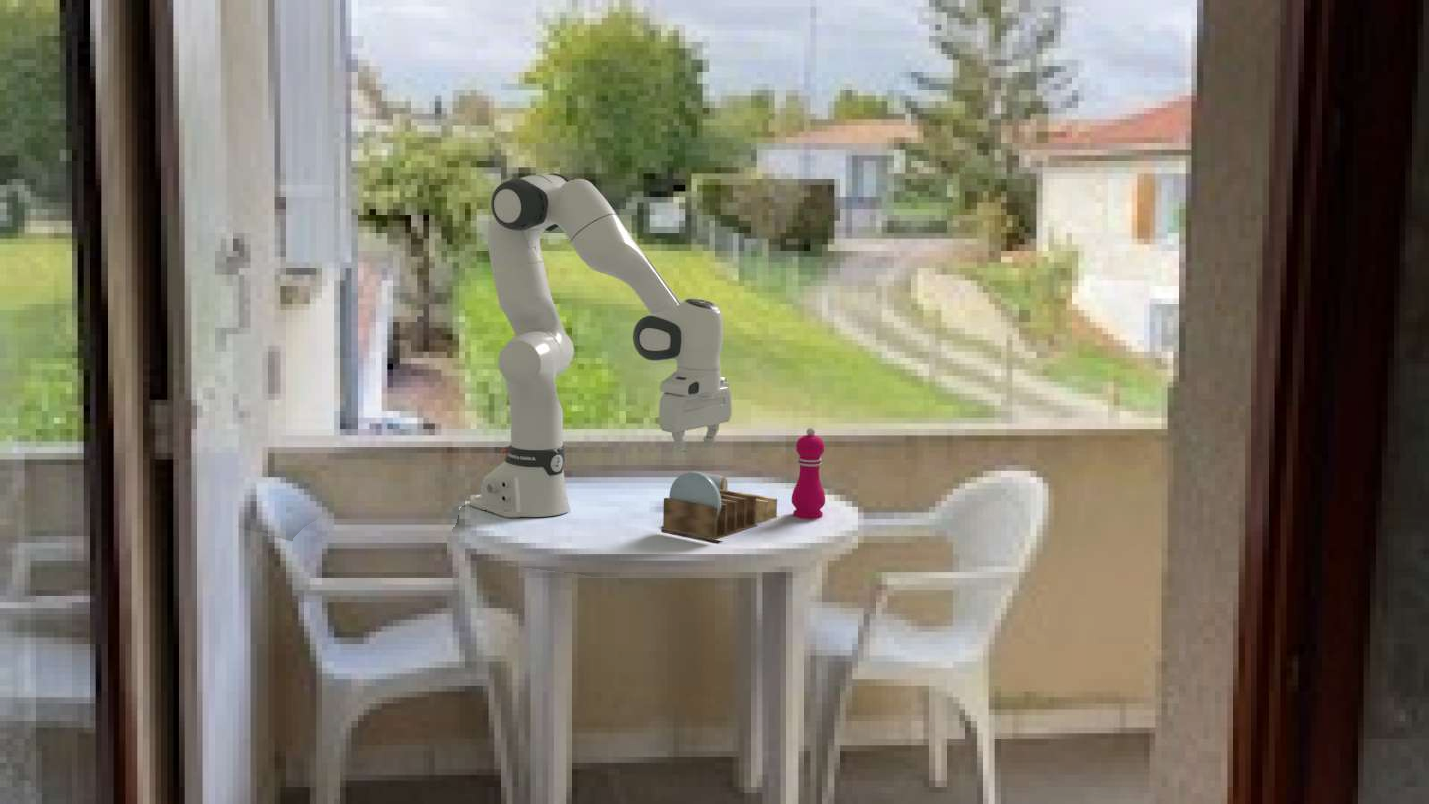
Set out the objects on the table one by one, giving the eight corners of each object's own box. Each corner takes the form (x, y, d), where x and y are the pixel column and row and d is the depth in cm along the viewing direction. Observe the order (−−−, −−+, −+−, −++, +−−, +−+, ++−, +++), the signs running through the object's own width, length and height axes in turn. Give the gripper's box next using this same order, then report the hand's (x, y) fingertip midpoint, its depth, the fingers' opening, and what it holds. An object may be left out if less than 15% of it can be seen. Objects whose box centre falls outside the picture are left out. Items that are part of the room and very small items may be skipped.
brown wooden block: (724, 518, 313) (725, 495, 312) (740, 513, 318) (741, 491, 317) (763, 526, 307) (764, 502, 306) (779, 520, 312) (780, 498, 311)
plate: (668, 526, 300) (669, 469, 299) (673, 525, 302) (674, 467, 300) (716, 535, 294) (717, 476, 292) (720, 534, 295) (722, 475, 293)
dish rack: (661, 532, 300) (661, 497, 299) (702, 519, 312) (703, 486, 311) (716, 543, 292) (717, 508, 291) (757, 530, 304) (758, 496, 303)
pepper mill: (783, 519, 314) (786, 427, 311) (806, 514, 319) (809, 423, 316) (809, 525, 309) (812, 432, 306) (831, 520, 314) (835, 428, 311)
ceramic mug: (722, 511, 319) (724, 477, 318) (686, 509, 321) (686, 474, 320) (729, 501, 330) (730, 468, 329) (693, 499, 331) (694, 466, 330)
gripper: (715, 374, 303) (712, 439, 305) (654, 383, 287) (651, 453, 289) (740, 378, 299) (737, 444, 302) (680, 388, 283) (677, 458, 285)
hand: (694, 448), depth 295 cm, fingers open, 8 cm apart
